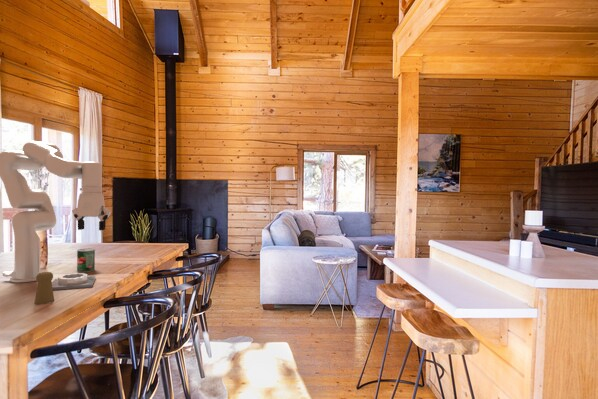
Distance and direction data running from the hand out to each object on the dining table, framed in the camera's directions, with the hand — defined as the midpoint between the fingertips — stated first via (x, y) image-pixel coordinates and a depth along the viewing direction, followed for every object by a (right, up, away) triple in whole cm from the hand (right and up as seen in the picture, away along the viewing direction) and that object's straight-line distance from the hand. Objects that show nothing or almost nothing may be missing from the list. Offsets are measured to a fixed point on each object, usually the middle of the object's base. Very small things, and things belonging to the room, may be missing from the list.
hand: (91, 229), depth 154 cm
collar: (-10, -25, +4) cm, 27 cm away
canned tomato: (-20, -24, +30) cm, 43 cm away
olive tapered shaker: (-6, -26, -21) cm, 33 cm away
